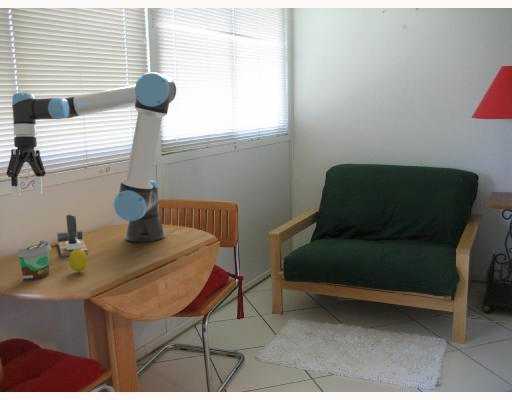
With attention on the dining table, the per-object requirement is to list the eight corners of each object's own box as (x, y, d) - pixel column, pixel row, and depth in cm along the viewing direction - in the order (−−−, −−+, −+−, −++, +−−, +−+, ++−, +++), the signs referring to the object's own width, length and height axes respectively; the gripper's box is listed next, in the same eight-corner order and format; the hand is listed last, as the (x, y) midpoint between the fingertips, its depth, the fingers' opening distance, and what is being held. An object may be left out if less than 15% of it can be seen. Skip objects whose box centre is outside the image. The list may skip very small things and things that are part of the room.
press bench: (88, 253, 195) (87, 241, 194) (61, 256, 192) (60, 244, 191) (82, 241, 213) (81, 230, 212) (58, 244, 210) (57, 232, 209)
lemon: (70, 276, 170) (68, 251, 168) (69, 271, 175) (67, 247, 173) (89, 273, 172) (87, 249, 170) (87, 269, 177) (85, 245, 175)
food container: (38, 283, 164) (35, 251, 162) (20, 282, 165) (17, 250, 163) (60, 270, 176) (58, 240, 174) (43, 269, 177) (40, 240, 175)
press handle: (81, 248, 195) (78, 215, 193) (66, 250, 193) (64, 217, 191) (80, 245, 199) (77, 213, 197) (65, 246, 198) (63, 214, 195)
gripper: (35, 138, 211) (38, 193, 212) (-7, 134, 186) (-4, 196, 187) (53, 137, 209) (56, 192, 210) (13, 133, 185) (16, 196, 186)
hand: (28, 194), depth 199 cm, fingers open, 13 cm apart
